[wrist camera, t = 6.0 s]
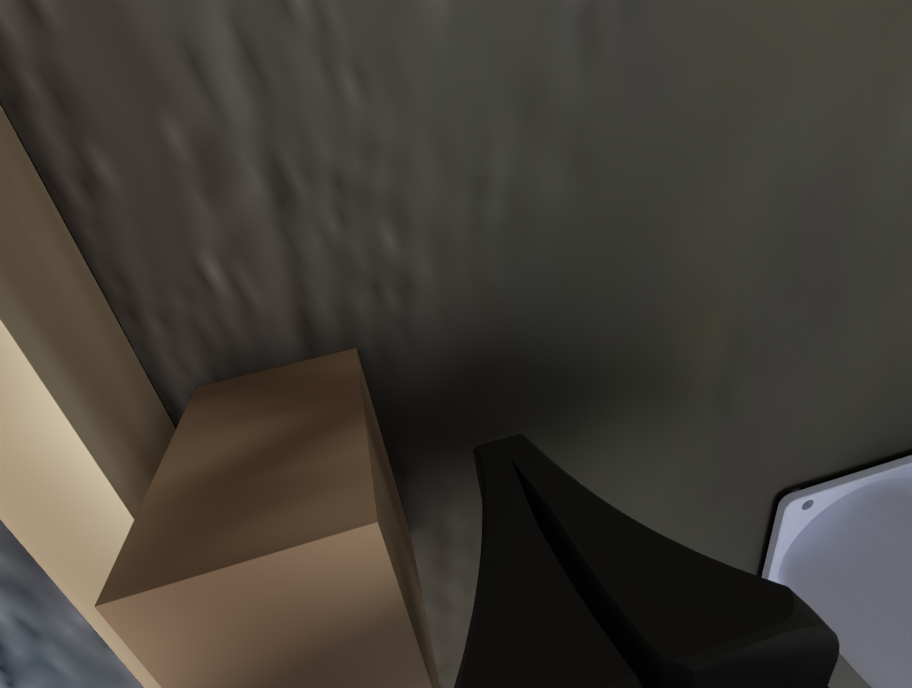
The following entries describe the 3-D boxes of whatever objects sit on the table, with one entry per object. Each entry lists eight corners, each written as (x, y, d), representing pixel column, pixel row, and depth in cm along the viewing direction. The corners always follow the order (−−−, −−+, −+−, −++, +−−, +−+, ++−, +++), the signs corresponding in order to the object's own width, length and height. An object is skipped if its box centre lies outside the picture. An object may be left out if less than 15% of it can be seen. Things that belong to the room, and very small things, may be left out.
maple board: (-39, 32, 8) (-213, -1, 6) (324, 704, 19) (323, 802, 16) (-172, 51, 8) (-422, 25, 5) (271, 721, 18) (261, 824, 16)
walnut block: (356, 346, 12) (377, 522, 7) (409, 531, 16) (451, 744, 11) (195, 386, 12) (94, 606, 7) (286, 569, 15) (265, 812, 10)
